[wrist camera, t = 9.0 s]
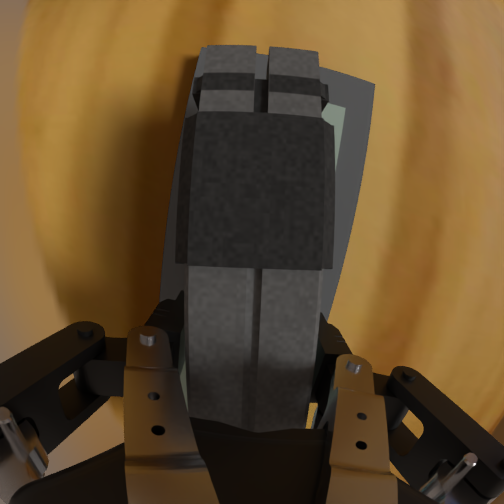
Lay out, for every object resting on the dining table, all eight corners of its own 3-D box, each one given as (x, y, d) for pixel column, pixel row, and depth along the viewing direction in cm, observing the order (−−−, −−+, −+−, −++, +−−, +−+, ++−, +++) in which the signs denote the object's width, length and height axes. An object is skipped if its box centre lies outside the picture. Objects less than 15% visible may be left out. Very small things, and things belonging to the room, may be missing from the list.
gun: (208, 459, 15) (187, 569, 6) (217, 157, 17) (194, 41, 8) (276, 461, 16) (298, 571, 6) (289, 160, 18) (330, 49, 8)
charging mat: (204, 54, 13) (201, 45, 11) (367, 89, 13) (376, 82, 12) (161, 428, 18) (157, 439, 17) (276, 444, 19) (277, 455, 18)
